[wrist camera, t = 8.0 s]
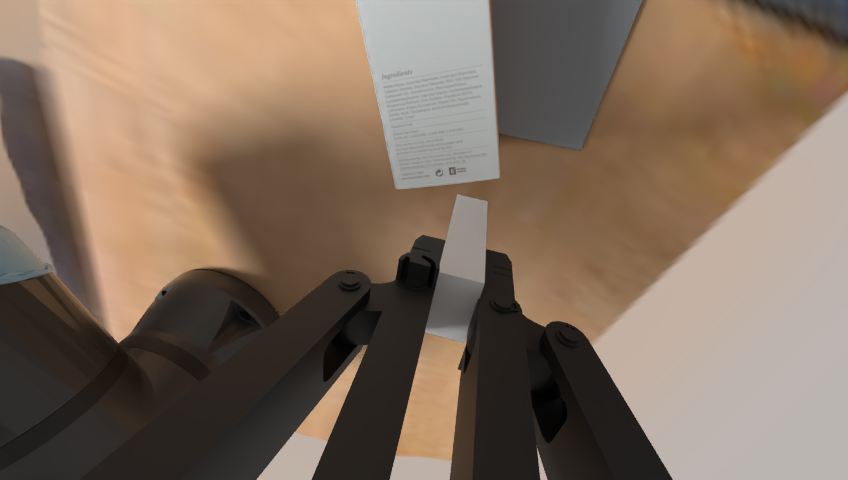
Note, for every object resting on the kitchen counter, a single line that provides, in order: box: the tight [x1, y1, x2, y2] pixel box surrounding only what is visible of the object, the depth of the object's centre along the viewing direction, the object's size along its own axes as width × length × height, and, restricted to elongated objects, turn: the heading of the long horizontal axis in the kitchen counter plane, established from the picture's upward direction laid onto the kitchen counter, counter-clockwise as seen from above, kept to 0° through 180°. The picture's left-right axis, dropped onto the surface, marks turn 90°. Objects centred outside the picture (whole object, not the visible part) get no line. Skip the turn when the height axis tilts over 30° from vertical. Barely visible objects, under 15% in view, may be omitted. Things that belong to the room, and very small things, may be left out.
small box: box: [355, 0, 501, 189], centre depth 19 cm, size 8×6×13 cm
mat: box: [491, 0, 642, 151], centre depth 22 cm, size 15×13×1 cm
